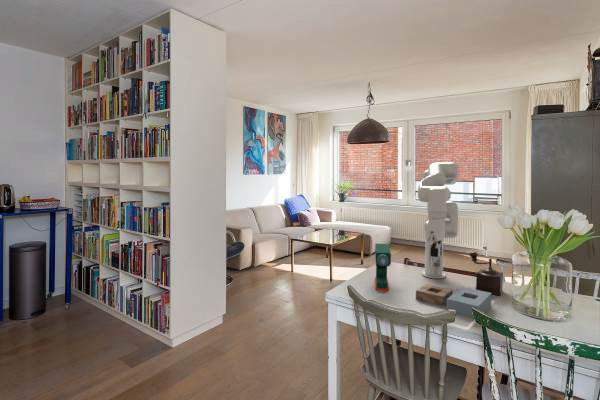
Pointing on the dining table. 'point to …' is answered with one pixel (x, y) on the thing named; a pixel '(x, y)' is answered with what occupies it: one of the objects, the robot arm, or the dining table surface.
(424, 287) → the socket block
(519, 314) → the dining table surface
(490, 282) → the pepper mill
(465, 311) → the slotted box
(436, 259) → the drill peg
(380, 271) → the power tool
